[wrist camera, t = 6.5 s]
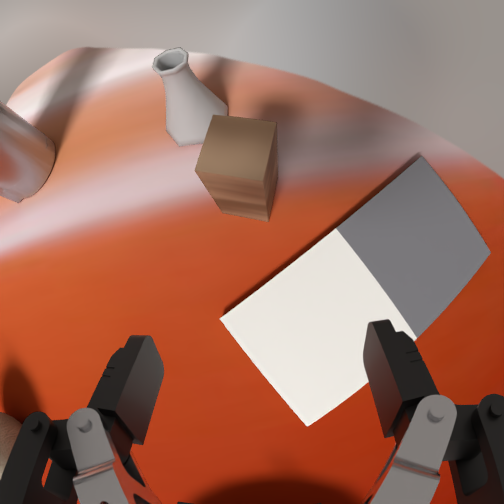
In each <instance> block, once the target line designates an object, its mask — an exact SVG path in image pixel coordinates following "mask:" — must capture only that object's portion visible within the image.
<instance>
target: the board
mask: <svg viewBox="0 0 504 504" xmlns="http://www.w3.org/2000/svg"><path fill="white" fill-rule="evenodd" d="M490 253H491V252H490V250H489V249H488V247H487V245H486V244H485V242H484V240H483V239H482V237H481V235H480V234H479V232H478V231H477V229H476V228H475V226H474V224H473V223H472V221H471V220H470V218H469V217H468V215H467V214H466V213H465V211H464V210H463V208H462V207H461V205H460V204H459V203H458V201H457V200H456V198H455V197H454V196H453V194H452V193H451V192H450V190H449V189H448V188H447V186H446V185H445V184H444V182H443V181H442V180H441V179H440V177H439V176H438V175H437V174H436V172H435V171H434V170H433V169H432V167H431V166H430V165H429V164H428V163H427V161H426V160H425V159H424V158H423V157H422V156H421V157H420V158H419V159H418V160H416V161H415V162H414V163H413V164H412V165H411V166H410V167H408V168H407V169H406V170H405V171H404V172H403V173H401V174H400V175H399V176H398V177H397V178H396V179H394V180H393V181H392V182H391V183H390V184H389V185H387V186H386V187H385V188H384V189H383V190H381V191H380V192H379V193H378V194H377V195H375V196H374V197H373V198H372V199H371V200H370V201H368V202H367V203H366V204H365V205H364V206H362V207H361V208H360V209H359V210H357V211H356V212H355V213H354V214H353V215H351V216H350V217H349V218H348V219H347V220H345V221H344V222H343V223H342V224H340V225H339V226H338V227H337V228H336V229H334V230H333V231H332V232H331V233H329V234H328V235H327V236H326V237H324V238H323V239H322V240H321V241H319V242H318V243H317V244H316V245H314V246H313V247H312V248H311V249H309V250H308V251H307V252H306V253H304V254H303V255H302V256H301V257H299V258H298V259H297V260H296V261H294V262H293V263H292V264H290V265H289V266H288V267H287V268H285V269H284V270H283V271H282V272H280V273H279V274H278V275H276V276H275V277H274V278H273V279H271V280H270V281H269V282H267V283H266V284H265V285H264V286H262V287H261V288H260V289H258V290H257V291H256V292H254V293H253V294H252V295H250V296H249V297H248V298H247V299H245V300H244V301H243V302H241V303H240V304H239V305H237V306H236V307H235V308H233V309H232V310H231V311H229V312H228V313H227V314H225V315H224V316H223V317H221V318H220V320H221V321H222V322H223V324H224V325H225V326H226V328H227V329H228V330H229V332H230V333H231V334H232V336H233V337H234V338H235V340H236V341H237V342H238V343H239V345H240V346H241V347H242V349H243V350H244V351H245V352H246V354H247V355H248V356H249V357H250V359H251V360H252V361H253V363H254V364H255V365H256V366H257V368H258V369H259V370H260V371H261V372H262V374H263V375H264V376H265V377H266V379H267V380H268V381H269V382H270V384H271V385H272V386H273V387H274V388H275V390H276V391H277V392H278V393H279V394H280V396H281V397H282V398H283V399H284V400H285V401H286V403H287V404H288V405H289V406H290V407H291V408H292V410H293V411H294V412H295V413H296V414H297V415H298V417H299V418H300V419H301V420H302V421H303V422H304V423H305V425H306V426H307V427H308V426H309V425H311V424H312V423H314V422H315V421H316V420H318V419H319V418H321V417H322V416H324V415H325V414H327V413H328V412H329V411H331V410H332V409H334V408H335V407H336V406H338V405H339V404H340V403H342V402H343V401H344V400H346V399H347V398H348V397H350V396H351V395H352V394H354V393H355V392H356V391H357V390H359V389H360V388H361V387H363V386H364V385H365V384H366V383H367V382H369V381H368V378H367V374H366V371H365V368H364V363H363V349H364V343H365V338H366V332H367V326H368V323H369V322H372V321H379V320H385V319H389V320H390V321H391V323H392V325H393V327H394V329H395V331H396V332H399V331H404V332H405V333H406V334H407V335H408V336H410V337H411V338H412V339H413V341H415V340H416V339H417V338H418V337H419V336H420V335H421V334H422V333H423V332H424V331H425V330H426V329H427V328H428V327H429V326H430V324H431V323H432V322H433V321H434V320H435V319H436V318H437V317H438V316H439V315H440V314H441V313H442V312H443V311H444V310H445V308H446V307H447V306H448V305H449V304H450V303H451V302H452V301H453V299H454V298H455V297H456V296H457V295H458V294H459V292H460V291H461V290H462V289H463V288H464V286H465V285H466V284H467V283H468V282H469V280H470V279H471V278H472V277H473V275H474V274H475V273H476V272H477V270H478V269H479V268H480V266H481V265H482V264H483V262H484V261H485V260H486V258H487V257H488V256H489V254H490Z"/></svg>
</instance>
